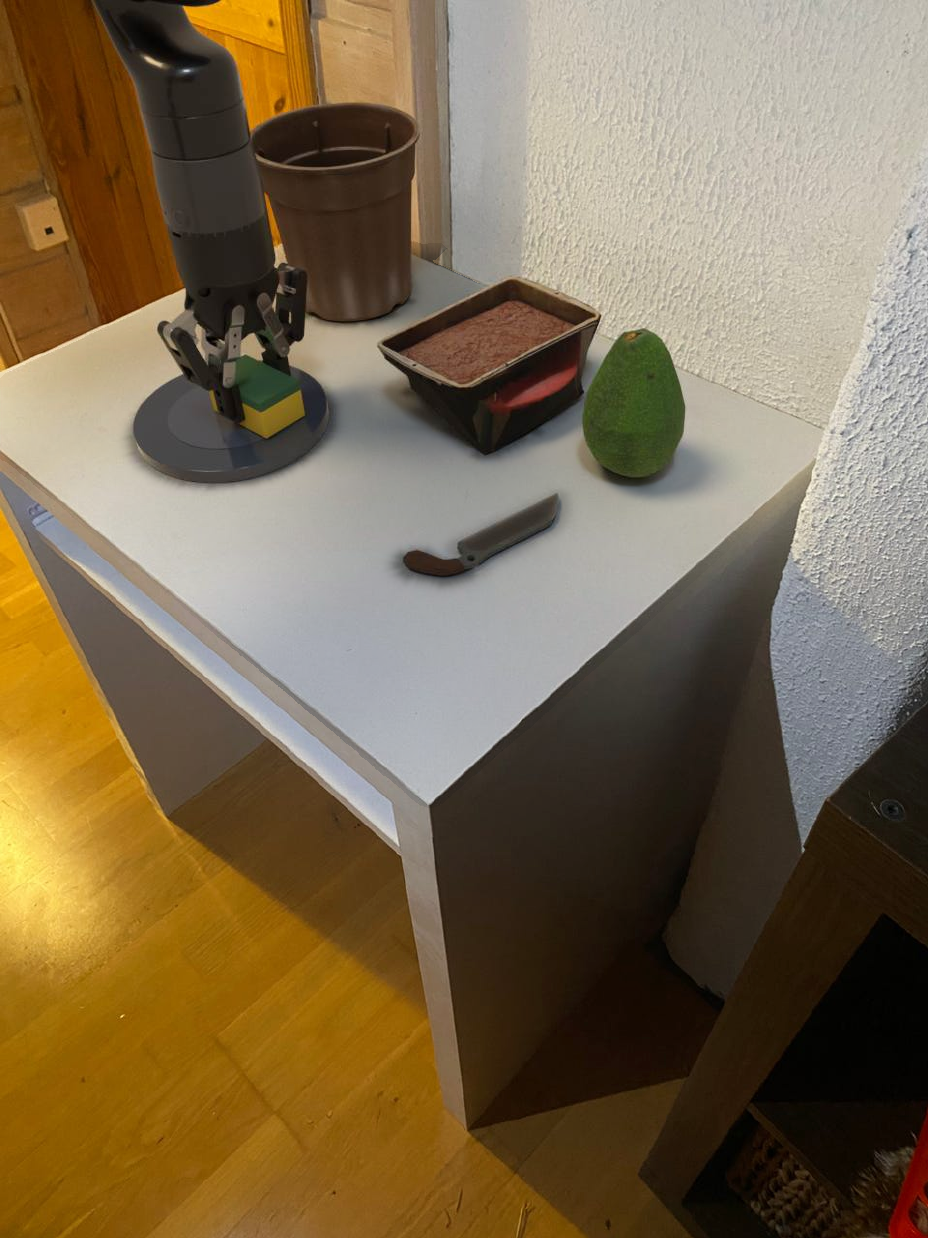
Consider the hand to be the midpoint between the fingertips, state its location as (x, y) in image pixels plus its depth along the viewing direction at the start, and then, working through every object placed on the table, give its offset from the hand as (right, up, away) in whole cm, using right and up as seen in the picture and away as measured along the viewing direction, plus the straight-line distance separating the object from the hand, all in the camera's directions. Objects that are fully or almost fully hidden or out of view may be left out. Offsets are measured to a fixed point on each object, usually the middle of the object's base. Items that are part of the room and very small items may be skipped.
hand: (257, 404), depth 80 cm
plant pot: (+6, +16, +17) cm, 24 cm away
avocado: (+31, -6, -4) cm, 32 cm away
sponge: (0, -1, +1) cm, 1 cm away
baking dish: (+21, +1, +3) cm, 21 cm away
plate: (-3, -1, +2) cm, 3 cm away
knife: (+20, -13, -10) cm, 26 cm away
